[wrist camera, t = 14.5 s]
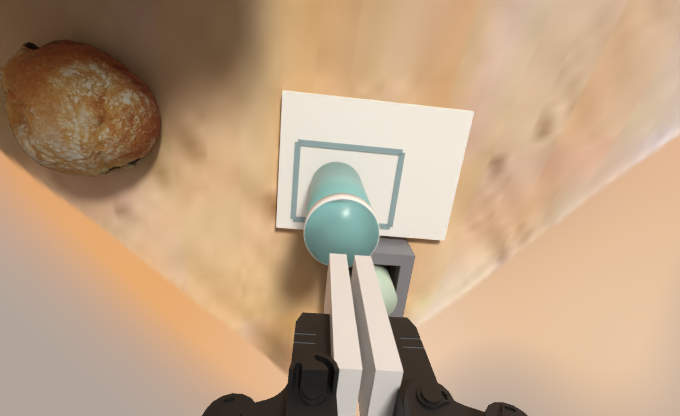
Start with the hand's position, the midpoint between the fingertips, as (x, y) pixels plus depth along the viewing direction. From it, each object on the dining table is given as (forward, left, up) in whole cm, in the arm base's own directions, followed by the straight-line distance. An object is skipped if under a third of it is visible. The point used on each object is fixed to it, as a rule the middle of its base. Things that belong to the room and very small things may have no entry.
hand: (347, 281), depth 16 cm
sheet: (+3, +2, -16) cm, 17 cm away
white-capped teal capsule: (0, 0, -16) cm, 16 cm away
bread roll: (-20, +4, -17) cm, 27 cm away
